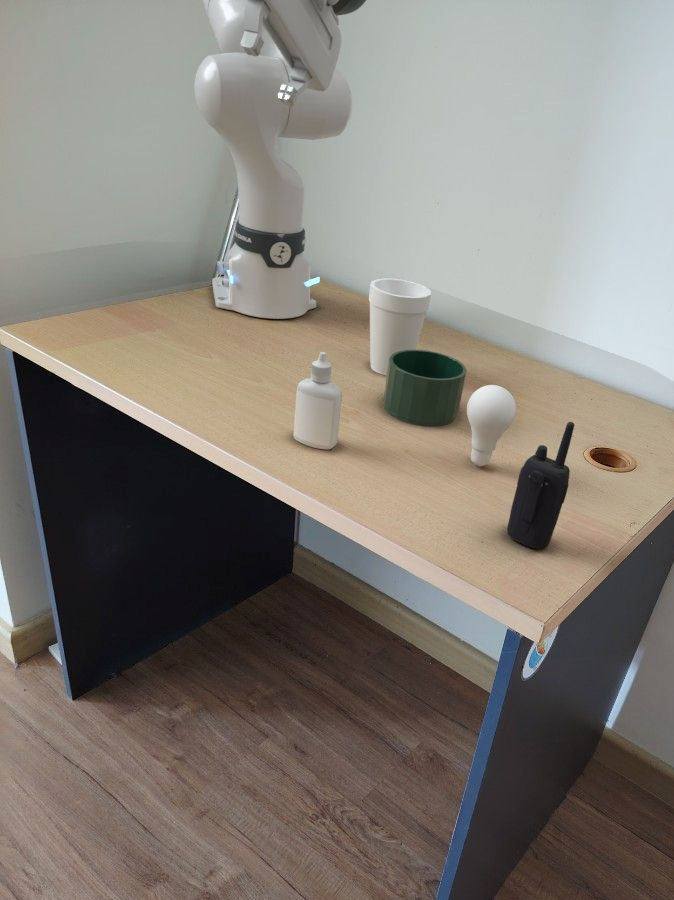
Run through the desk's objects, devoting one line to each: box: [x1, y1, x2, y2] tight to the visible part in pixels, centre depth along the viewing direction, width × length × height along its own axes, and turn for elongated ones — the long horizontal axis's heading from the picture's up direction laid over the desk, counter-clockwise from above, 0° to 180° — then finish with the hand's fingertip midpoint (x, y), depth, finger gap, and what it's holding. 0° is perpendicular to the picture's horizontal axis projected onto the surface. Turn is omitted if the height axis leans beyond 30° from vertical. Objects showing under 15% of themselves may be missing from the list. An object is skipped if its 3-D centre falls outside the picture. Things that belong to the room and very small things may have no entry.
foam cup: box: [368, 277, 432, 376], centre depth 119 cm, size 10×9×13 cm
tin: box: [382, 349, 468, 427], centre depth 109 cm, size 11×11×7 cm
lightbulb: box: [466, 384, 517, 468], centre depth 96 cm, size 6×6×11 cm
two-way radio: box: [506, 421, 575, 550], centre depth 81 cm, size 6×4×15 cm
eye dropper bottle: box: [292, 351, 343, 450], centre depth 95 cm, size 4×6×12 cm
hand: (267, 78), depth 90 cm, fingers open, 8 cm apart
